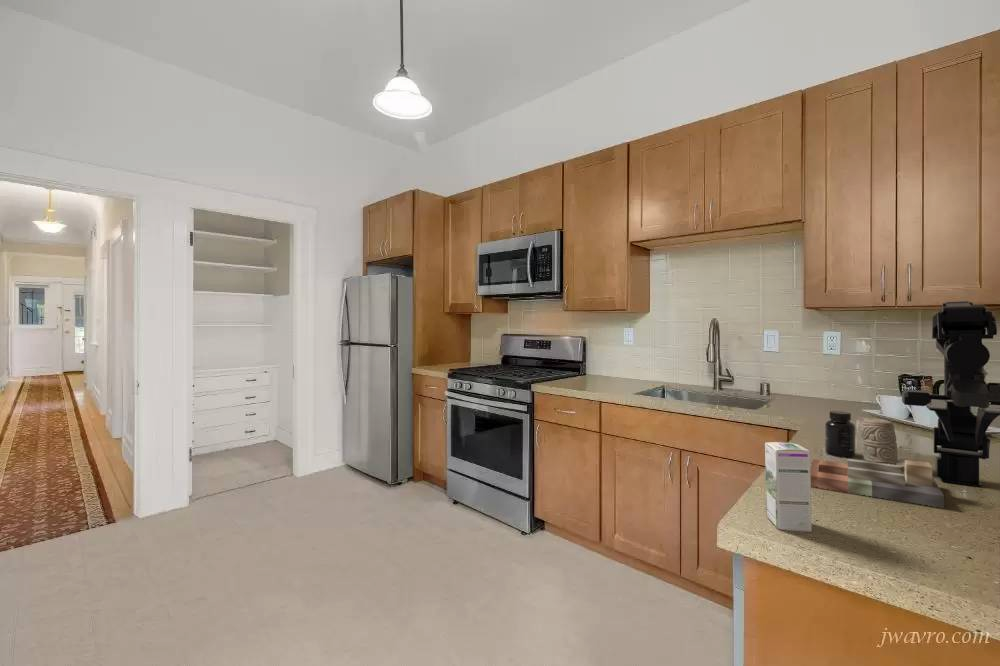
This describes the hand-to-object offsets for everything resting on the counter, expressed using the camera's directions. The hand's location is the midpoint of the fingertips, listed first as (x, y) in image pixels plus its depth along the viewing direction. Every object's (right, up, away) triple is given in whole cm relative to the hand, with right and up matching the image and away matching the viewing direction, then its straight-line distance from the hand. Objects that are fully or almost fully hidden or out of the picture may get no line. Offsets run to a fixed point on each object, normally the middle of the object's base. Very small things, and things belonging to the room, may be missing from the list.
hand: (963, 442), depth 93 cm
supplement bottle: (+1, -12, +35) cm, 37 cm away
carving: (+2, -12, +24) cm, 27 cm away
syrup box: (-43, -13, -10) cm, 46 cm away
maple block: (-5, -10, +4) cm, 12 cm away
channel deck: (-12, -12, +9) cm, 19 cm away
